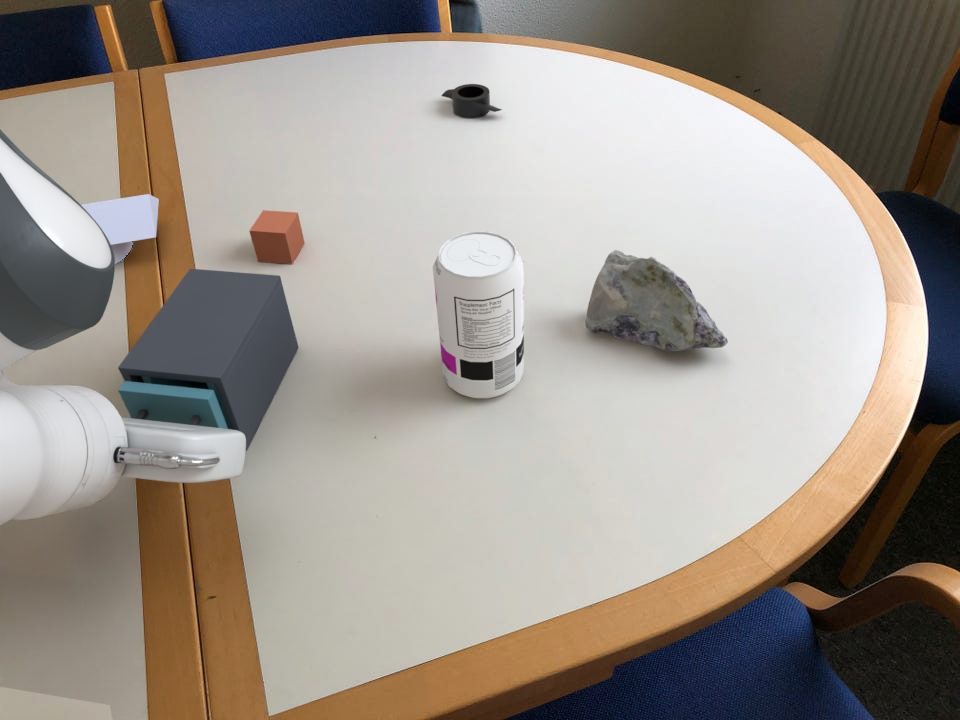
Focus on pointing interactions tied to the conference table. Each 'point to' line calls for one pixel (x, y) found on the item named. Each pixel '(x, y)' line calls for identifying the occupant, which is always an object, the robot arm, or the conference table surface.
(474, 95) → the black finned ring
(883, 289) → the conference table surface
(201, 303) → the grey drawer cabinet
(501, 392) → the supplement can
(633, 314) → the mineral rock
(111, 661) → the conference table surface
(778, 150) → the conference table surface
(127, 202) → the lavender piece
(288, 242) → the block
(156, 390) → the drawer
